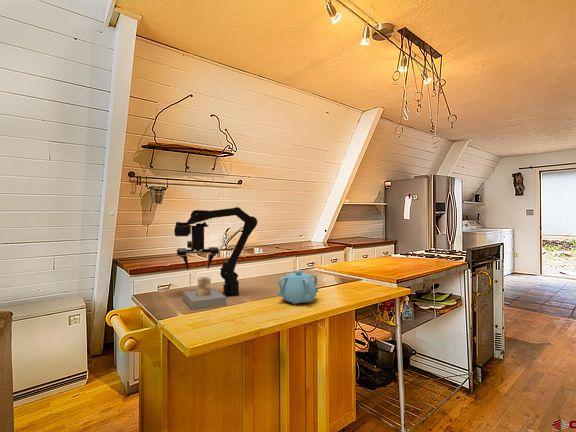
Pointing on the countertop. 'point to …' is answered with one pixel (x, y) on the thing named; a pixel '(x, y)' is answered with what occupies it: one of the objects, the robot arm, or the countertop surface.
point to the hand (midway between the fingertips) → (197, 269)
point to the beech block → (204, 286)
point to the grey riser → (204, 299)
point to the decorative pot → (298, 287)
